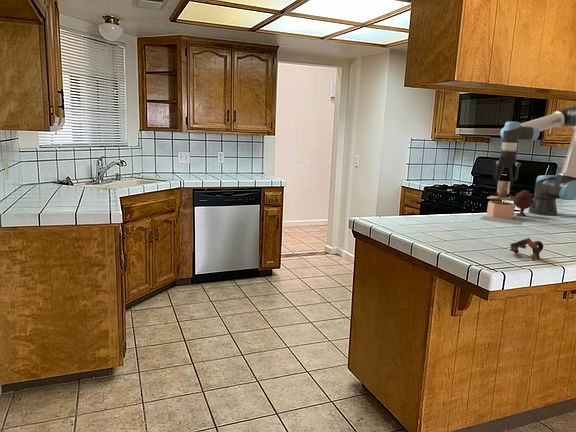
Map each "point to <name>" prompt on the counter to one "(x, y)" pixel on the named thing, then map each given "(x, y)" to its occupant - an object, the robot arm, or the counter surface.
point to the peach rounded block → (502, 192)
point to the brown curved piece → (532, 244)
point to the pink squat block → (500, 209)
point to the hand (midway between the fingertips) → (502, 192)
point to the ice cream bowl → (523, 201)
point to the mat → (502, 220)
